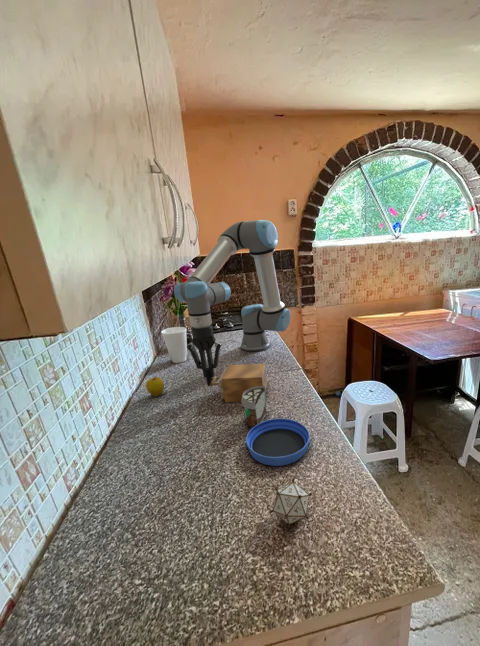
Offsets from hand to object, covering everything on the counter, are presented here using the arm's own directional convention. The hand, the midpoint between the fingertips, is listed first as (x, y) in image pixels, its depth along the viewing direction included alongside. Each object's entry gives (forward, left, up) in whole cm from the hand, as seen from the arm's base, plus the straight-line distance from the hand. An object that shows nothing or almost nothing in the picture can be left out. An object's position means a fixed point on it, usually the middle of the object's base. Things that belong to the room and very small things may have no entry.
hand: (210, 384), depth 120 cm
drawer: (0, +10, -4) cm, 10 cm away
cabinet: (0, +14, -4) cm, 14 cm away
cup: (-38, -26, -5) cm, 46 cm away
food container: (+19, +19, -5) cm, 27 cm away
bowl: (+33, +28, -5) cm, 43 cm away
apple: (-1, -22, -5) cm, 23 cm away
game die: (+57, +32, -5) cm, 65 cm away
